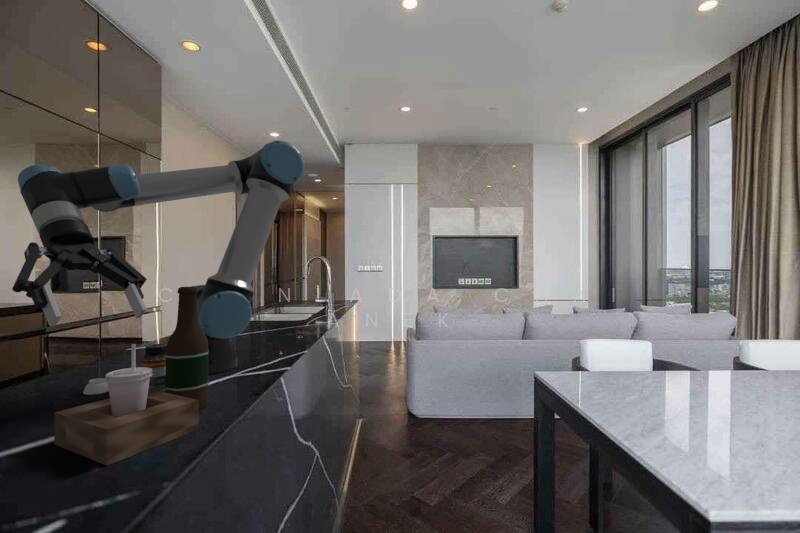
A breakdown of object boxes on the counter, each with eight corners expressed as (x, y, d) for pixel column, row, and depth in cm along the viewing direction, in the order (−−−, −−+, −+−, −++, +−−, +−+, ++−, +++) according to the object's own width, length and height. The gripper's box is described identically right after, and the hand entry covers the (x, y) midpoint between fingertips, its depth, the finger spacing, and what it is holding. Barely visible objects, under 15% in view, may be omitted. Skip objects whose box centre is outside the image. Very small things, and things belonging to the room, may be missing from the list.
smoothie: (157, 430, 64) (157, 345, 64) (108, 443, 59) (109, 350, 59) (147, 420, 68) (147, 340, 68) (101, 431, 64) (101, 345, 64)
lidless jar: (77, 397, 85) (103, 395, 86) (77, 383, 85) (103, 382, 86) (92, 390, 90) (115, 389, 91) (92, 377, 90) (115, 376, 91)
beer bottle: (179, 401, 81) (179, 286, 82) (216, 401, 81) (216, 286, 82) (155, 415, 74) (156, 287, 74) (197, 414, 74) (197, 287, 74)
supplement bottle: (143, 395, 85) (143, 343, 86) (174, 392, 88) (174, 341, 88) (136, 404, 80) (137, 348, 80) (170, 400, 82) (170, 346, 82)
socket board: (146, 415, 74) (146, 388, 74) (198, 429, 67) (198, 399, 67) (54, 444, 61) (54, 412, 61) (106, 465, 54) (107, 429, 54)
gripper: (123, 247, 89) (161, 322, 82) (-35, 238, 66) (0, 340, 60) (139, 224, 86) (179, 299, 80) (-20, 207, 64) (18, 310, 58)
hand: (102, 317), depth 70 cm, fingers open, 13 cm apart
